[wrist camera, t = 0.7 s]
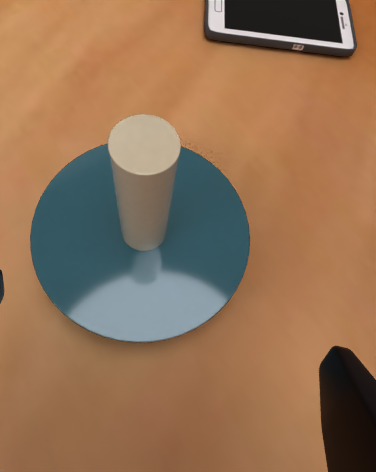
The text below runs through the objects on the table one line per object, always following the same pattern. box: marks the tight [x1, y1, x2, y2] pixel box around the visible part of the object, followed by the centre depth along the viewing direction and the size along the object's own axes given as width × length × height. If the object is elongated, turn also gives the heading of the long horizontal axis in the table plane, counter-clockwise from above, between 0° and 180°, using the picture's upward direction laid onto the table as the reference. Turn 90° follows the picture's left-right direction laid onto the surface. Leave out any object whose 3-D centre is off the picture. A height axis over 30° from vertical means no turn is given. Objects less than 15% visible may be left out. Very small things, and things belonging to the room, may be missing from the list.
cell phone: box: [204, 0, 357, 56], centre depth 35 cm, size 8×15×1 cm, turn 88°
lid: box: [30, 114, 250, 343], centre depth 19 cm, size 13×13×10 cm
